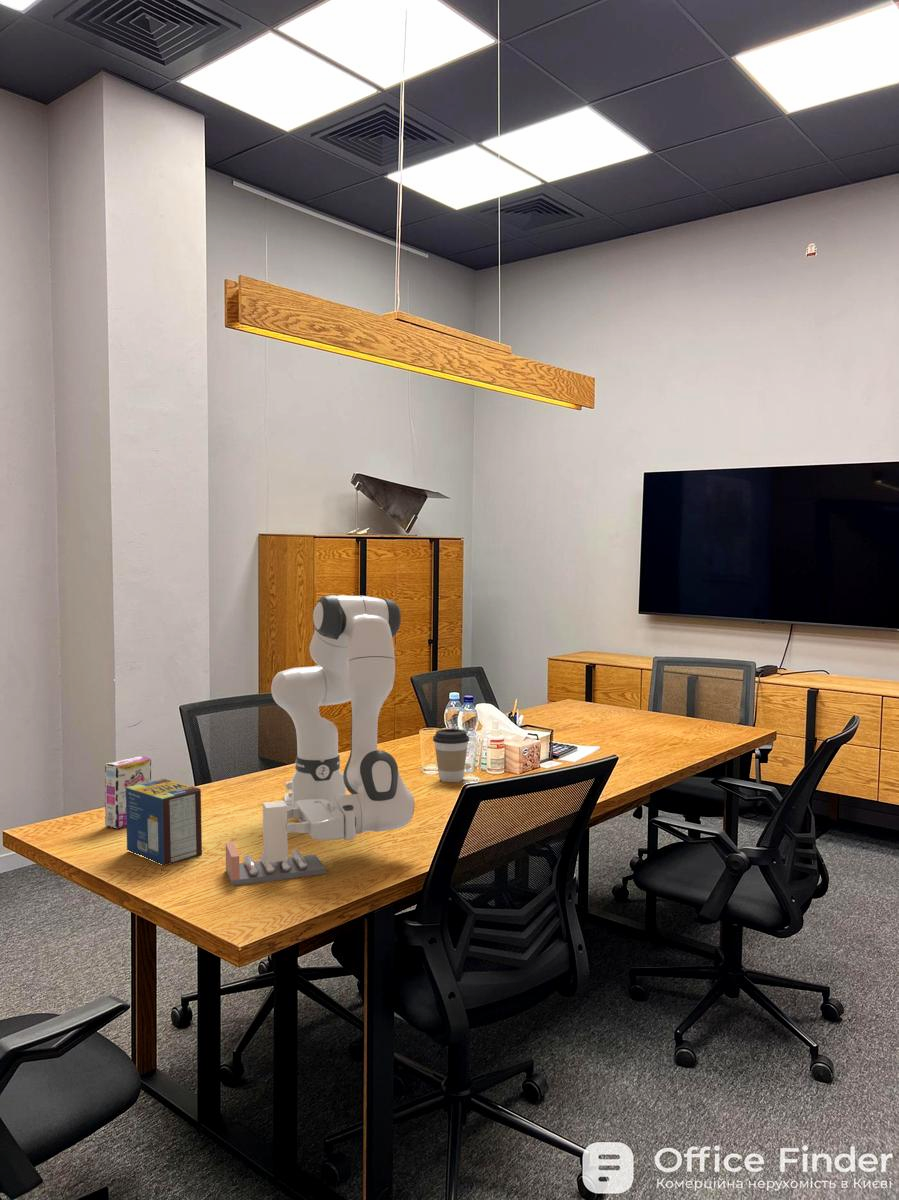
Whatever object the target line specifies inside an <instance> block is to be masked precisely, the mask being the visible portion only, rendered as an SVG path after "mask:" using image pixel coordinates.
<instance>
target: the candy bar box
mask: <svg viewBox="0 0 899 1200" xmlns="http://www.w3.org/2000/svg"><path fill="white" fill-rule="evenodd" d="M148 782H152V758H151V757H150V758H149V757H146V756H135V757H131V758H130V757H129V758H126V759H122V760H121V759H120V760H116V761H112V762H107V763H105V764H104V787H105V788H104V793H105V796H104V803H105V804H104V805H105V806H104V807H105V808H104V811H105V812H104V814H105V815H104V819H105V820H104V821H105V822H104V823H105V824H104V826H105V827H106V826H107V827H106V828H109V827H112V828H111V829H113V828H116V829H115V830H119V829H118V828H120V829H122V827H123V828H125V827H124V826H126V827H127V823H126V787H129V786H134V785H139V784H143V783H148Z"/></svg>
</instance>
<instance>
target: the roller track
mask: <svg viewBox="0 0 899 1200" xmlns="http://www.w3.org/2000/svg"><path fill="white" fill-rule="evenodd" d="M290 854H291V857H288V861H280V862H272V863H266V861H265V859H264V857H263V853H262V854H260V856H259V860H258V861H254V859H253V857H252V856H251V855H249V854H248V855H246V856H245V857H244V858H243V861H244V862H242V863H240V854H239V852H238V850H237V848H236V845H235V844H234V841H228V842H225V871H226V874H227V877H228V880H229V883H230V884H231V887H235V886H237V887H238V886H242V885H243V886H245V885H251V884H258V883H265V882H273V881H274V882H275V881H280V880H283V881H284V880H290V879H297V878H298V877H299V878H305V877H304V876H306V877H311V875H314V876H319V874H322V875H326V874H327V870H326V866H324V864H323V862H321V859H320V858H319V857H318V856H317V854H316V853H315V854H308V855H303V854H301V852H300V851H299V849H293V850H292V851H291V853H290ZM299 878H298V879H299Z"/></svg>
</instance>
